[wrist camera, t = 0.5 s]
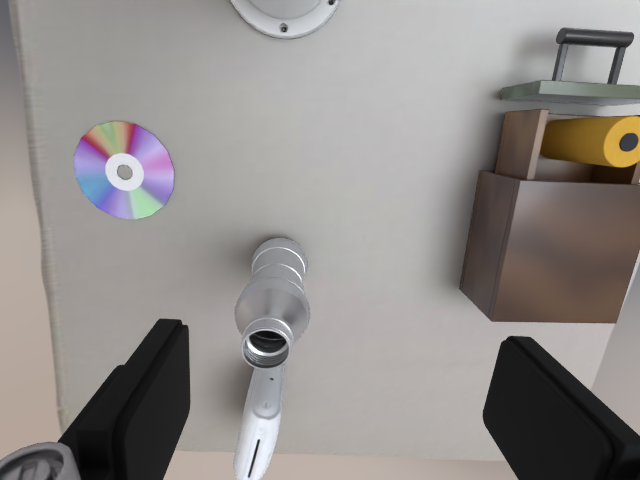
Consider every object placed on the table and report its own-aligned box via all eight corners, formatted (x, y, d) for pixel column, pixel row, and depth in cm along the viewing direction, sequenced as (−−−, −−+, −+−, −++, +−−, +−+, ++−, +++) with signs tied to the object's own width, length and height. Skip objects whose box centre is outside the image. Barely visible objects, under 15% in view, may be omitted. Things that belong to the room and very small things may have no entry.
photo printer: (257, 350, 49) (243, 419, 38) (288, 356, 50) (283, 426, 38) (242, 410, 52) (225, 492, 40) (271, 415, 53) (262, 498, 41)
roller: (541, 118, 40) (612, 114, 31) (579, 120, 40) (661, 117, 31) (533, 158, 41) (599, 166, 32) (569, 160, 42) (645, 168, 33)
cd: (186, 145, 41) (186, 145, 41) (159, 233, 44) (159, 233, 44) (86, 104, 39) (85, 104, 39) (64, 198, 42) (64, 198, 42)
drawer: (512, 34, 39) (554, 15, 32) (630, 42, 39) (695, 25, 33) (479, 215, 44) (510, 230, 38) (583, 218, 45) (631, 233, 39)
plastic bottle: (254, 231, 44) (217, 308, 25) (308, 234, 45) (313, 311, 26) (253, 280, 46) (219, 385, 27) (306, 282, 47) (309, 387, 28)
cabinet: (479, 170, 44) (520, 180, 35) (594, 175, 44) (660, 185, 36) (458, 288, 48) (491, 321, 40) (563, 291, 49) (616, 323, 41)
